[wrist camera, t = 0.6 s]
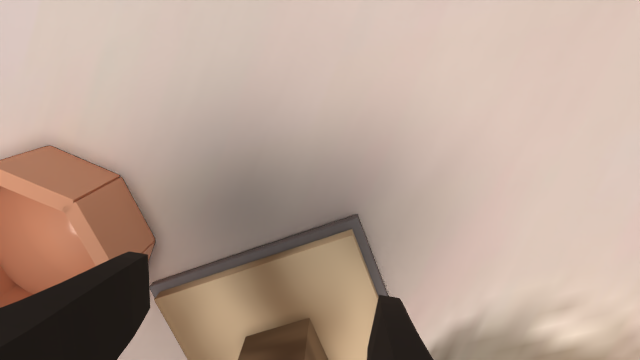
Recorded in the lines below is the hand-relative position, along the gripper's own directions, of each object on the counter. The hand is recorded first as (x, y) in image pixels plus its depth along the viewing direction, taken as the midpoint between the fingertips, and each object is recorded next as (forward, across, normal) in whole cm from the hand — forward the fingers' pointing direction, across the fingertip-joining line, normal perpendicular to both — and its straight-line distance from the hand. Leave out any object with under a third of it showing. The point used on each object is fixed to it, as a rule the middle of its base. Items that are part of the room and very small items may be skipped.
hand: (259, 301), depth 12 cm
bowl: (+9, +14, +5) cm, 17 cm away
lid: (+9, 0, +10) cm, 14 cm away
